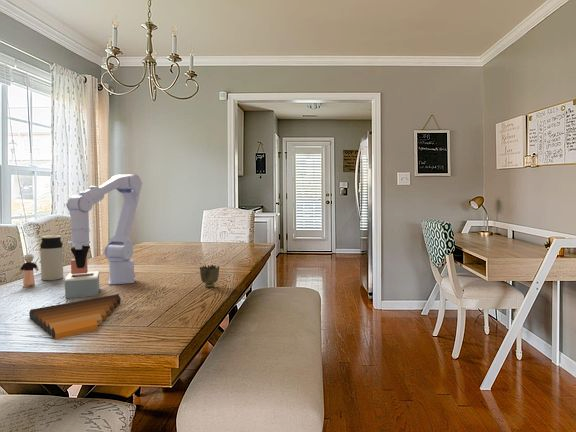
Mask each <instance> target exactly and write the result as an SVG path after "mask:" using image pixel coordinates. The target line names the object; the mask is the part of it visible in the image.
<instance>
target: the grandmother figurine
mask: <svg viewBox="0 0 576 432" xmlns="http://www.w3.org/2000/svg"><path fill="white" fill-rule="evenodd" d="M34 258H35V256H34V254H32V253H26V254H25V255H24V256H23V260H24V261H25V263H23V264H22V265H21V267H20V268H19V271H18V275H22V273H23V278H22V284H23V285H22V288H29V287H36V284H35V283H36V282H35V275H34V271H36V272H38V271H40V270H39V267H38V265H37V264H36V262H33V260H34ZM34 269H35V270H34ZM23 271H24V272H23Z"/></svg>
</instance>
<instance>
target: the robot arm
mask: <svg viewBox="0 0 576 432" xmlns="http://www.w3.org/2000/svg"><path fill="white" fill-rule="evenodd" d="M142 185H143V182H142V180H141V178H140V176H139V175H138V174H137V173H132V174H120V173H118V174H114V175H112V176H111V178H110V179H109V180H107V181H106V182H104V183H102V184H101V185H99V186H96V185H90V186H88V189H86V190H84V191H80V192H79V194H78V195H72V196H70V197H69V198H68V200H67V203H66V209H67V210H68V211H69V212H68V213H69V214H68V215H69V216H70V231H71V232H70V233H71V237H70V238H71V241H67V244H68V245H73V247H70V251H71V253H72V256H73V257H74V259H75V261H76V265H77V268H84V266H85V259H86V258H87V256H88V252H89V250H90V248H91V245H90V244H91V241H90V216H89V215H90V214H89V213H90V212H89V211H91V210H92V208H93V206H94V205H95V204H97V203H98V202H101V201H102V200H104V199H105V195H106V194H108V193H110V192H112V191H114V190H116V191H117V192H118V194H120V196H121V197H123V199H124V200H123V204H122V208H121V211H120V215H119V218H118V222H117V227H116V231H115V234H114V235H113V236H112V237H111V238H110V239H108V242H107V244H106V246H105V248H104V249H103V251H104V252H103V253H104V256H105V257H106V258H107V262H109V263H108V265H109V266H108V267H109V272H108V273H109V279H108V285H109V286H110V285H120V284H121V285H122V284H134V283H135V278H136V273H135V264H134V263H135V262H134V261H135V260H134V259H132V257H133V253H134V244H135V243H134V242H133V241H132V239H131V238H130V235H131V232H132V227H133V224H134V221H135V216H136V212H137V208H138V204H139V200H140V194H141V190H142ZM87 259H88V258H87Z"/></svg>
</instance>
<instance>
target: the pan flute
mask: <svg viewBox="0 0 576 432" xmlns="http://www.w3.org/2000/svg"><path fill="white" fill-rule="evenodd" d="M121 301H122V299H121V297H120V294H118V293H117V294H112V295H107V296H101V297H94V298H88V299H84V300H78V301H72V302H71V301H70V302H67V303H66V302H65V303H61V304H60V303H59V304H56V305H55V304H54V305H50V306H49V305H48V306H44V307H38V308H33V309H30V310H29V312H28V315H29V319H30V320H31V321H33V323H35V324H36V325H37V326H39V327H40V328H41V329H42V330H43V331H44V332H45V333H47V334H48V335H49V336H51V338H53V340H58V339H62V338H68V337H72V336H77V335H80V334H81V335H82V334H84V333H89V332H93V331H98V326H102V325H103V321H106V320H107V316H111V312H114V310H115V308H117V307H118V305H119V304H121ZM114 307H115V308H114ZM110 311H111V312H110Z"/></svg>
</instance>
